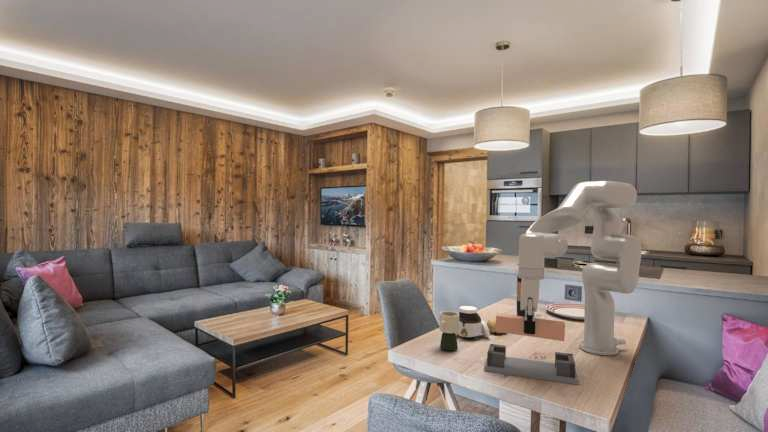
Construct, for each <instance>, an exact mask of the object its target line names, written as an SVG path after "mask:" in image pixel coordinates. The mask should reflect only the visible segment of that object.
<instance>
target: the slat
mask: <svg viewBox="0 0 768 432" xmlns="http://www.w3.org/2000/svg"><path fill="white" fill-rule="evenodd" d="M495 317H496V330H495V333H496V332H503V333H502V334H510V335H518V336H524V337H532V338H539V339H545V340H553V341H559V342H560V341H561V342H565V337H566V336H565V335H566V323H565V321H561V320H560V321H559V320H551V319H546V318H545V319H544V318H537V317H536V318H535V319H534V321H535V334H525V333H524V320H525V317H522V316H517V315H514V314H508V313H507V314H505V313H498V312H497V313H496V315H495Z"/></svg>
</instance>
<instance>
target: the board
mask: <svg viewBox="0 0 768 432" xmlns="http://www.w3.org/2000/svg"><path fill="white" fill-rule="evenodd" d="M483 368H484V369H483V370H484V372H487V373H488V372H490V373H494V374H495V373H496V374H503V375H509V376H515V377H516V376H517V377H523V378H530V379H536V380H542V381H549V382H556V383H562V384H569V385H574V386H575V385H579V381H580V380H579V375H578V373H577V369H576V367H575V378H571V377H564V376H558V375H556V367H555V362H549V361H548V362H547V361H541V360H533V359H526V358H517V357H511V356H506V359H505V360H504V368H502V367H495V366H488V365H487V358H486V359H485V364H484V367H483Z"/></svg>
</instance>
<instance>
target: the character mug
mask: <svg viewBox="0 0 768 432" xmlns="http://www.w3.org/2000/svg"><path fill="white" fill-rule="evenodd" d="M438 317H439V318H438V321H439V327H438V329H439V330H440V331H441V338H440V345H439V348H440V349H442V350H446V351H456V350H458V347H459V346H458V335H457V334H456V333H457V332H459V312H457V311H450V310H444V311H440V312H439V315H438Z"/></svg>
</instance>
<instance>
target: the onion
mask: <svg viewBox="0 0 768 432" xmlns="http://www.w3.org/2000/svg"><path fill="white" fill-rule="evenodd" d="M486 325H487V326H488V329H489V332H490V334H493V335H495V333H496V334H498V335H499V334H500V335H501V334H504V333H503V332H496V331H495V330H496V316H492V317H490V318H489V319H488V320H487V322H486Z"/></svg>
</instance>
